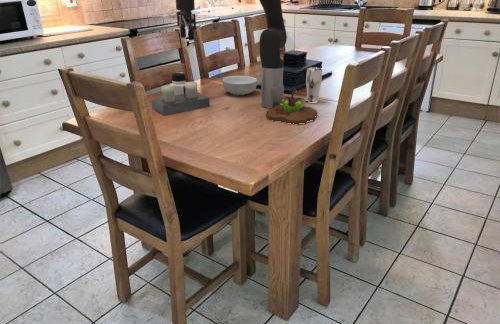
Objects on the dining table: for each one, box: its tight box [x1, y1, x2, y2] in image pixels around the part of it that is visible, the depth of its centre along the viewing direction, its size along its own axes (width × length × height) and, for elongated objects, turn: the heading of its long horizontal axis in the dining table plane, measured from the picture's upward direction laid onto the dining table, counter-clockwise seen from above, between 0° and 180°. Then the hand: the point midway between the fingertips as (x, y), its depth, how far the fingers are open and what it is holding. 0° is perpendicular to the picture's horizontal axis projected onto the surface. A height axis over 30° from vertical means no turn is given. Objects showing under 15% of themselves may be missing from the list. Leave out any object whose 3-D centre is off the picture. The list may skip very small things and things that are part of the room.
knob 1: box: [160, 84, 175, 103], centre depth 172 cm, size 5×5×7 cm
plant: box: [265, 89, 318, 124], centre depth 165 cm, size 20×20×11 cm
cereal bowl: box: [222, 75, 258, 96], centre depth 197 cm, size 17×17×7 cm
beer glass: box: [305, 66, 323, 102], centre depth 183 cm, size 7×7×15 cm
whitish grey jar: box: [185, 81, 199, 99], centre depth 178 cm, size 5×5×7 cm
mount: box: [150, 92, 211, 116], centre depth 177 cm, size 12×22×4 cm, turn 125°
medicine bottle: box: [169, 71, 187, 95], centre depth 188 cm, size 7×7×12 cm
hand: (187, 38), depth 170 cm, fingers open, 8 cm apart
